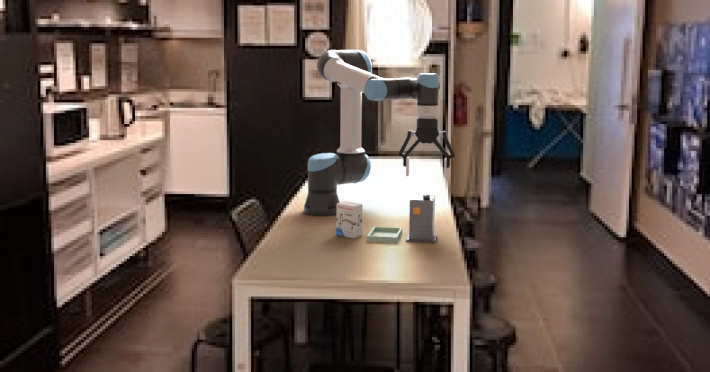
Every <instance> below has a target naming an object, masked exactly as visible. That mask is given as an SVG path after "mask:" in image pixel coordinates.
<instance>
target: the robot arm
mask: <svg viewBox="0 0 710 372" xmlns="http://www.w3.org/2000/svg"><path fill="white" fill-rule="evenodd" d="M316 69H317V72H318V74H319V76H320V77H321V78H323V79H325V80H326V81H329V82H331V83H335V82H336V84H337V86H338V87H340V129H339V130H340V135H339V136H340V137H339V138H340V139H339V141H340V146H339V148H337V150H336V153H334V152H327V153H326V152H322V153H317V154H314V155H312V156H310V157H309V158H308V161H307V169H306V170H307V196H306V198H305V202H304V206H303V213H304V214H306V215H309V216H323V217H324V216H334V215H336V214H337V203H340V199H339V195H338V193H337V192H338V186H339V185H346V184H357V183H361V182H364V181H365V180H367V178H368V176H369V175H370V173H371V167H372V166H371V165H372V164H371V160H370V157H369V155H367V154H366V150H365V149H364V148H363V147H362V120H363V119H362V116H363V115H362V112H363V111H362V110H363V108H362V105H363V102H362V101H363V97H362V96H363V95H362V93H363V94H364V96H365V97H366V98H367V100H370V101H375V102H379V101H380V102H381V101H391V100H393V101H394V100H395V101H396V100H397V101H398V100H416V101H417V102H416V116H417V118H416V129H415V130H412V129H409V130H408V131H407V136H406V138H405V140H404V142H403V144H402V146H401V147H400V150H399V152H398V153H397V154H398V156H399V157H402V160H403V161H402V166H403V167H405V176H406V177H409V175H410V156H409V155H410V154H411V152H413V150H414V149H415V148H416V147H417V146H418V145H419V144H420V143H421V144H428V145H429V144H434V145H435V146H436V148H438V150H439V151H440V152H441V153H442V154H443V156H444V157H445V158H444V160H443V163H444V165H443V178H447V169H450V167H451V159H453V158H455V157H456V153H455V150H454V149H453V146H452V145H451V143H450V141H449V139H448V135H447V134H448V133H447V131H446V130H443V131H439V129H438V128H439V119H438V116H439V92H440V91H439V87H440V83H439V81H440V80H439V75H438V74H437V73H427V72H426V73H425V72H424V73H423V72H422V73H421V72H420V73H419V74H417V78H413V77H400V78H399V77H398V78H384V77H380V76H378V75H376V74H373V72H372V71H373V65H372V61H371V58H370V56H369V54H367V52H365V51H363V50H361V49H360V50H359V49H339V50H338V49H337V50H336V49H330V50H327V51H325V52H323V53H322V54H321V55H320V57H319V58H318V59H317V63H316ZM414 136H415V137H416V138H417V139H416V140H415V142H413V144H412V145H411V146H410V147H409V148H408V150H406V152H405V153H404V151H405V149H406V147H407V146H408V144H409V142H410V140H411V138H413V137H414ZM439 136H440V137H441V138H442V139H443V142H444V143H445V145H446V148H447V149H448V151H446V149H445V148H444V146H443V145H442V144H441V143H440V141H439V140H438V139H437V138H438V137H439ZM448 152H449V153H448Z"/></svg>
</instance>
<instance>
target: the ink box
mask: <svg viewBox="0 0 710 372" xmlns="http://www.w3.org/2000/svg"><path fill="white" fill-rule="evenodd" d="M339 202H340V201H339ZM335 215H336V216H335V217H336V221H335V223H336V225H335V235H336V236H340V237H346V238H350V239H356V238H360V237H362V236H363V234H362V233H363V204H362V203H358V202H352V201H348V200H345V201H341V202H340V203H337V214H335Z"/></svg>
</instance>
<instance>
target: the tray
mask: <svg viewBox="0 0 710 372" xmlns="http://www.w3.org/2000/svg"><path fill="white" fill-rule="evenodd" d="M402 235H403V227H396V226H395V227H394V226H377V225H376V226H373V227H372V229H371V230H370V231H369V233H368V234H367V235H366V236H367V237H366V241H367V242H369V243H387V244H388V243H392V244H398V242H399V240H400V238H401V237H402Z"/></svg>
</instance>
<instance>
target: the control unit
mask: <svg viewBox="0 0 710 372" xmlns="http://www.w3.org/2000/svg"><path fill="white" fill-rule="evenodd" d="M435 210H436V195H430V194H422V195H421V194H420V195H419V194H417V195H416V194H412V195H411V197H410V199H409V216H408V219H409V222H408V223H409V226H408V235H407V237H406V239H405V243H417V244H418V243H419V244H421V243H422V244H423V243H424V244H425V243H426V244H435V243H436V242H437V241H436V240H437V238H438V234H437V233H435Z"/></svg>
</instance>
